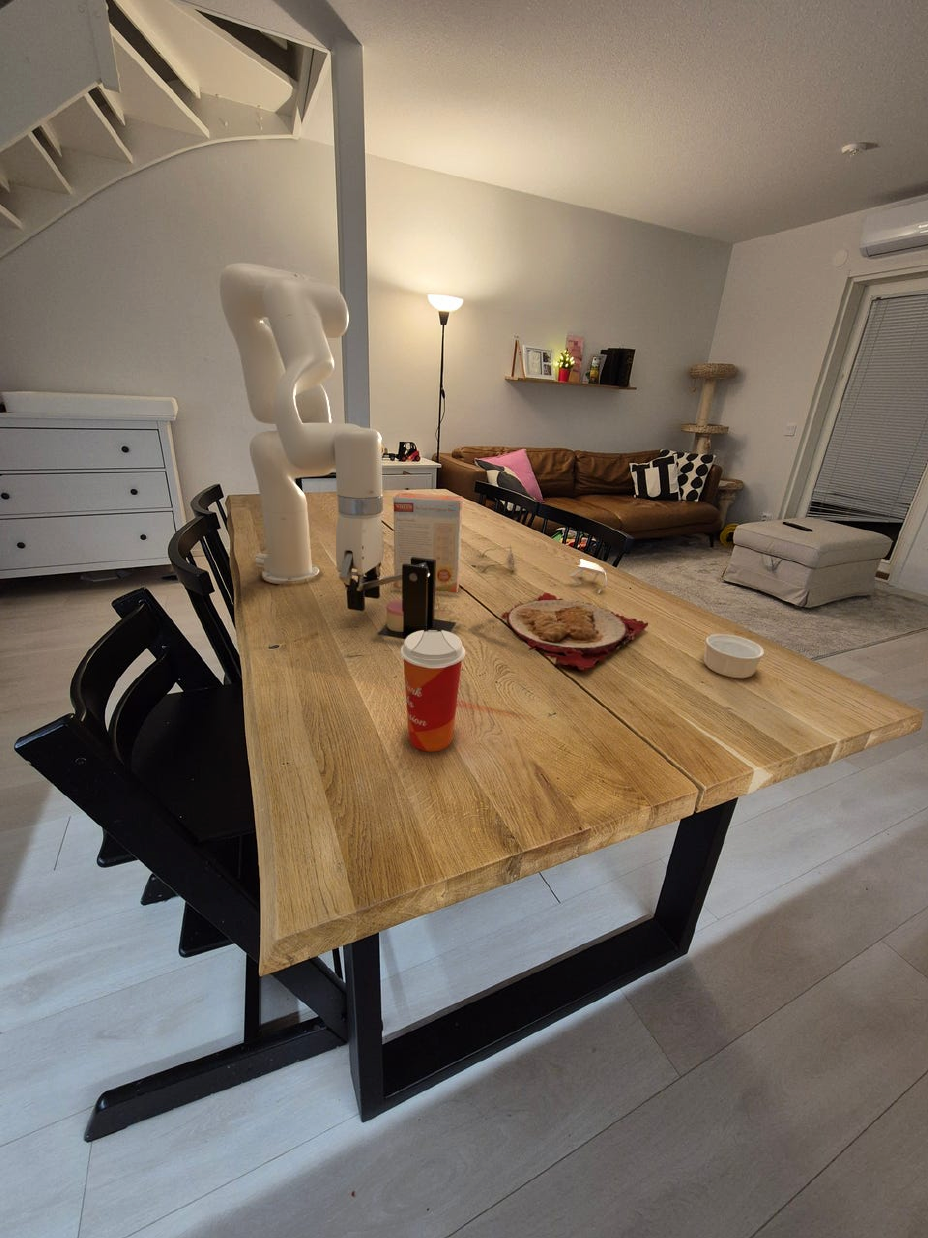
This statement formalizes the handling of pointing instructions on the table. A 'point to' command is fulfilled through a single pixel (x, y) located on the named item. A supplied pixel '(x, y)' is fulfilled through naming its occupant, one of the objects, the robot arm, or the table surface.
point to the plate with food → (572, 629)
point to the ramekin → (732, 655)
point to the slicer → (418, 600)
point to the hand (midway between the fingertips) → (364, 602)
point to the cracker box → (429, 535)
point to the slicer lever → (386, 579)
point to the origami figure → (589, 567)
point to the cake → (395, 615)
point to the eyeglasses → (508, 556)
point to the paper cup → (431, 686)
